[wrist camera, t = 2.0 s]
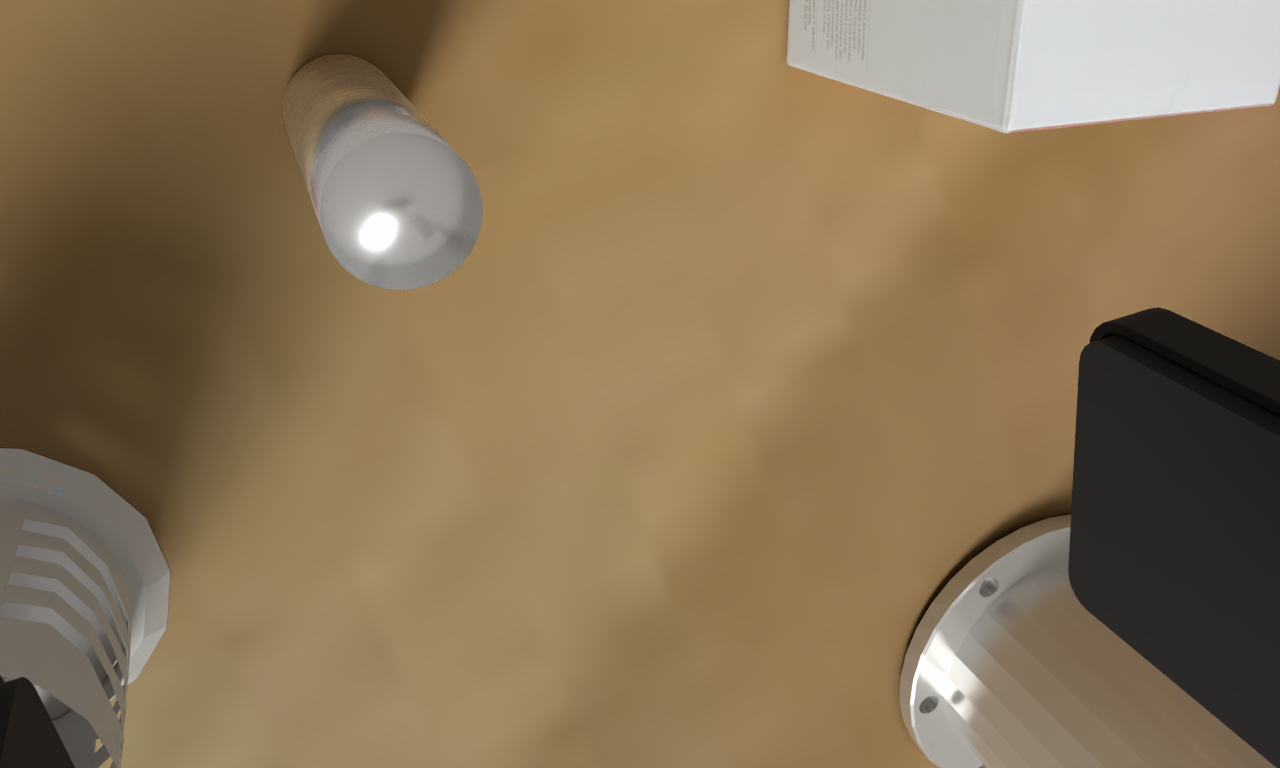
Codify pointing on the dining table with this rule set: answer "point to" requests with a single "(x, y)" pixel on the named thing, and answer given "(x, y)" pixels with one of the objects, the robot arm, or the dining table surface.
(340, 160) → the steel pin
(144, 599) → the french press
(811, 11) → the small box
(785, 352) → the dining table surface
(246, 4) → the dining table surface
